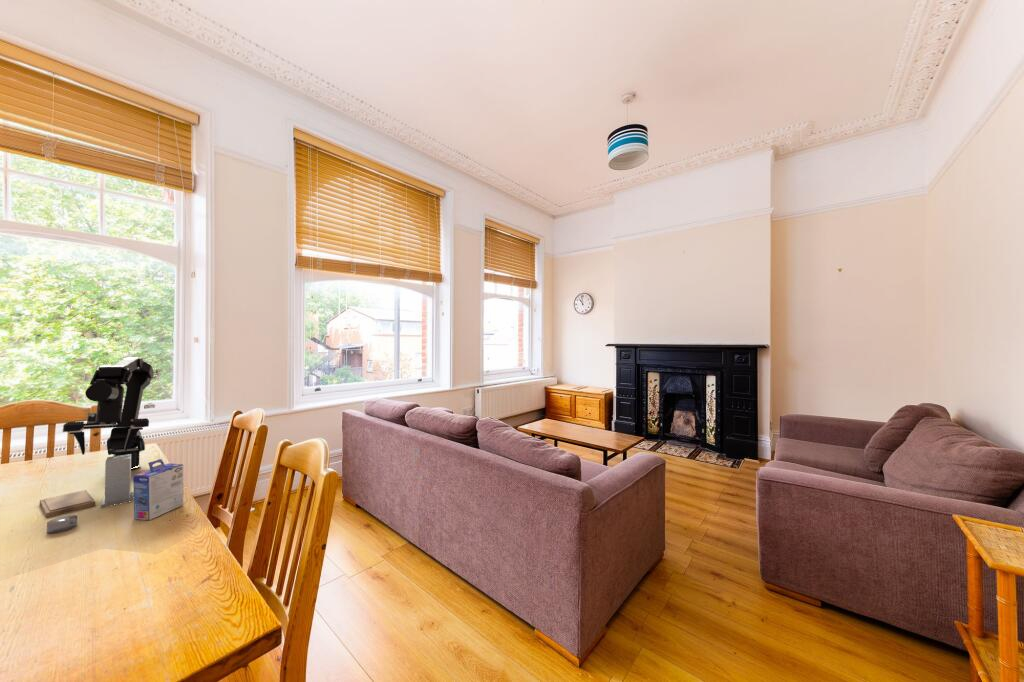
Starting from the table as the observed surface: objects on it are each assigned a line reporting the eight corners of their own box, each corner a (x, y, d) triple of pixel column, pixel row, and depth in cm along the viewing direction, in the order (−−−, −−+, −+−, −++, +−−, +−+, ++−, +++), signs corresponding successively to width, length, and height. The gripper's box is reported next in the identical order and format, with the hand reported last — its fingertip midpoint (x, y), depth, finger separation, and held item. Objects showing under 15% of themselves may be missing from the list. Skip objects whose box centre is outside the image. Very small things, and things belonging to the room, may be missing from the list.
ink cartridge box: (168, 503, 112) (168, 455, 112) (184, 504, 111) (185, 456, 111) (131, 519, 102) (132, 466, 102) (149, 521, 101) (150, 467, 101)
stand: (86, 493, 116) (86, 489, 116) (95, 505, 109) (95, 500, 109) (39, 504, 109) (39, 499, 109) (46, 517, 101) (46, 512, 101)
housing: (103, 500, 113) (104, 456, 112) (134, 494, 117) (134, 452, 117) (100, 507, 108) (101, 462, 108) (132, 501, 112) (133, 458, 112)
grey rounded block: (75, 522, 100) (75, 513, 100) (78, 528, 97) (79, 518, 97) (45, 530, 96) (45, 520, 96) (48, 536, 93) (48, 526, 93)
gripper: (145, 404, 135) (140, 448, 132) (64, 406, 121) (58, 456, 118) (151, 401, 129) (146, 448, 126) (66, 403, 114) (60, 457, 111)
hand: (104, 452), depth 120 cm, fingers open, 9 cm apart
